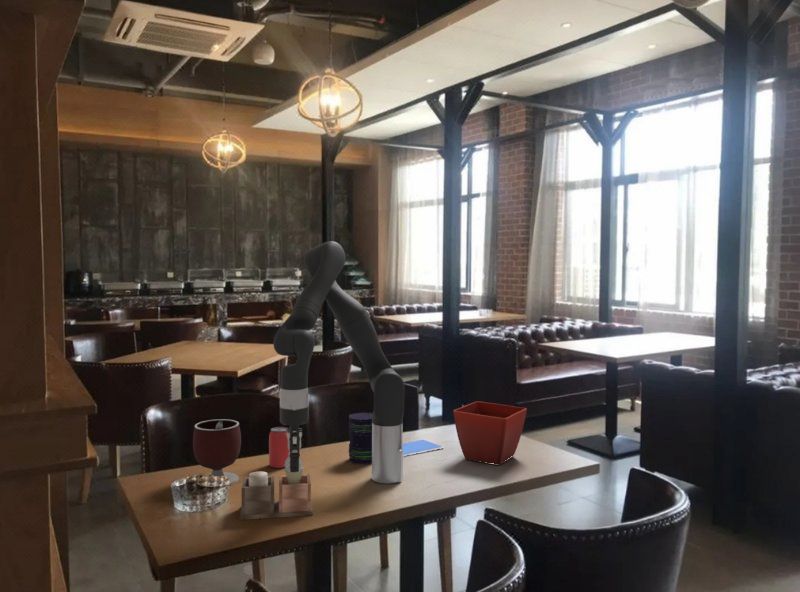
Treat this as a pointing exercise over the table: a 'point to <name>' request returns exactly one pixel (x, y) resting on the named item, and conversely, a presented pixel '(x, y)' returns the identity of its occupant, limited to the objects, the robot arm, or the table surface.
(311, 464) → the table surface
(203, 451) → the mate gourd
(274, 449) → the beer can
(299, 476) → the ice cream cone
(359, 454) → the storage jar
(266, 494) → the condiment caddy
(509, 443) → the plant pot
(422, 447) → the tablet computer
